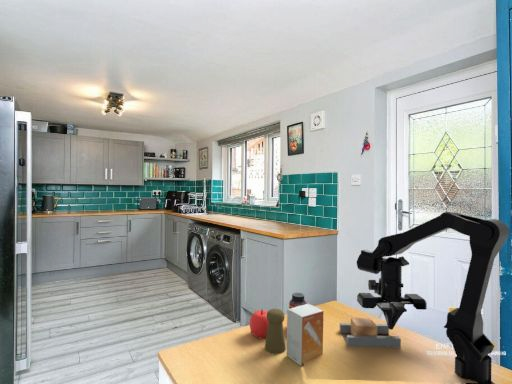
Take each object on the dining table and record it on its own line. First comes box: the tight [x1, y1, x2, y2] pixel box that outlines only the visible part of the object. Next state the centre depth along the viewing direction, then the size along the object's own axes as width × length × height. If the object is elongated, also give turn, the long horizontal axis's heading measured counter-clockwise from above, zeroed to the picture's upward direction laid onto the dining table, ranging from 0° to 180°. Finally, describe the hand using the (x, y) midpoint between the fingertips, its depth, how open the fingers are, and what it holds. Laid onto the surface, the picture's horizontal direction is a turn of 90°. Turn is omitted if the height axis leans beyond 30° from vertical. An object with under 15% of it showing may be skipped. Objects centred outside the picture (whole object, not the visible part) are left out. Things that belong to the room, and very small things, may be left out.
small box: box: [286, 303, 325, 367], centre depth 81 cm, size 8×6×13 cm
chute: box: [339, 322, 402, 349], centre depth 89 cm, size 15×10×4 cm, turn 88°
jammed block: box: [350, 317, 378, 336], centre depth 89 cm, size 6×6×5 cm
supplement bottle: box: [288, 292, 308, 309], centre depth 98 cm, size 6×6×11 cm
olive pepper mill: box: [264, 308, 287, 355], centre depth 85 cm, size 6×6×11 cm
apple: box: [248, 309, 269, 339], centre depth 93 cm, size 8×8×8 cm
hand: (390, 329), depth 89 cm, fingers closed
